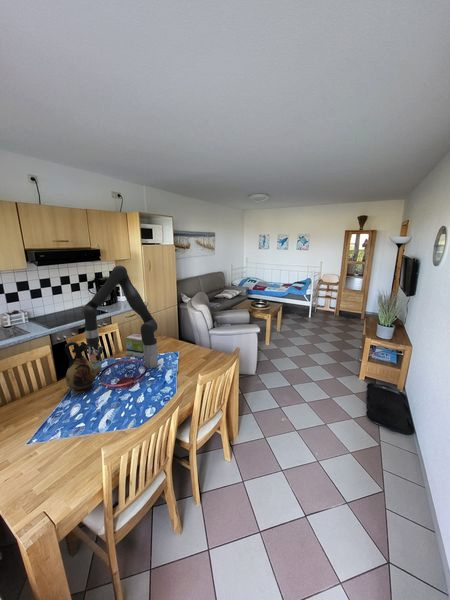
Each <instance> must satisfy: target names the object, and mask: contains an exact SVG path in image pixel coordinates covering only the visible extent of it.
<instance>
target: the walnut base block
mask: <svg viewBox="0 0 450 600" xmlns="http://www.w3.org/2000/svg"><path fill="white" fill-rule="evenodd" d="M95 372H96V375H99V374H98V373H100V372H102V366H101V367H100V368H97V369H95ZM102 373H103V372H102ZM100 374H101V373H100Z"/></svg>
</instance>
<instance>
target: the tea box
mask: <svg viewBox="0 0 450 600" xmlns="http://www.w3.org/2000/svg"><path fill="white" fill-rule="evenodd" d="M125 346H126V355H128V356H134V357H138V358H144V357H143V356H144V348H143V341H142V338H141V334H140V333H139V334H137V333H131V335H128V336H127V337H125Z"/></svg>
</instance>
